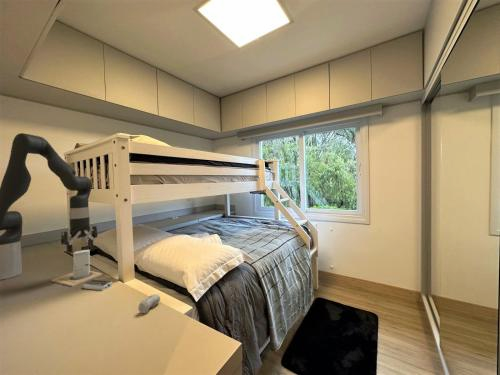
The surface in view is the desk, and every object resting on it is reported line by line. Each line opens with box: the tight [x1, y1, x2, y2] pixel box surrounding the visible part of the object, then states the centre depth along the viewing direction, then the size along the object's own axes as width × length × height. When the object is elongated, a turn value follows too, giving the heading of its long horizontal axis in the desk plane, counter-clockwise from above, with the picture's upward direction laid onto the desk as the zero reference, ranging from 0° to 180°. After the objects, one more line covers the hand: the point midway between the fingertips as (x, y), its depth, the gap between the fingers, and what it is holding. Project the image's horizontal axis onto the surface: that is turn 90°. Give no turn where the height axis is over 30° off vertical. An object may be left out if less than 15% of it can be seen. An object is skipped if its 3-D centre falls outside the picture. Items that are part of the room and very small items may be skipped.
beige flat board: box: [50, 270, 104, 287], centre depth 100 cm, size 17×13×1 cm
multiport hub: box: [83, 279, 113, 291], centre depth 90 cm, size 4×11×2 cm, turn 76°
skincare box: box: [72, 249, 91, 278], centre depth 100 cm, size 6×4×12 cm
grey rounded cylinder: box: [137, 293, 161, 314], centre depth 73 cm, size 4×8×5 cm
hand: (80, 249), depth 100 cm, fingers open, 8 cm apart
